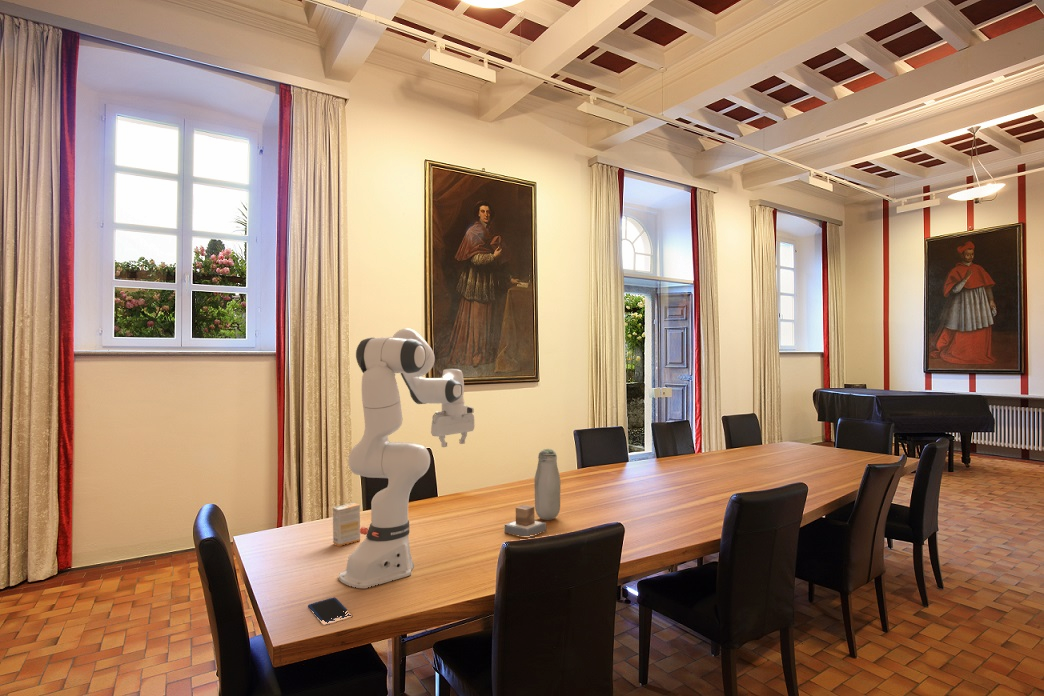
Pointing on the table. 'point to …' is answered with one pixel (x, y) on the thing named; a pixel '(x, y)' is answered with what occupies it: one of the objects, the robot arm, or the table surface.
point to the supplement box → (346, 524)
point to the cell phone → (328, 609)
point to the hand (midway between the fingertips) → (453, 445)
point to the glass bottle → (547, 485)
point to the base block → (525, 528)
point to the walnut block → (525, 515)
